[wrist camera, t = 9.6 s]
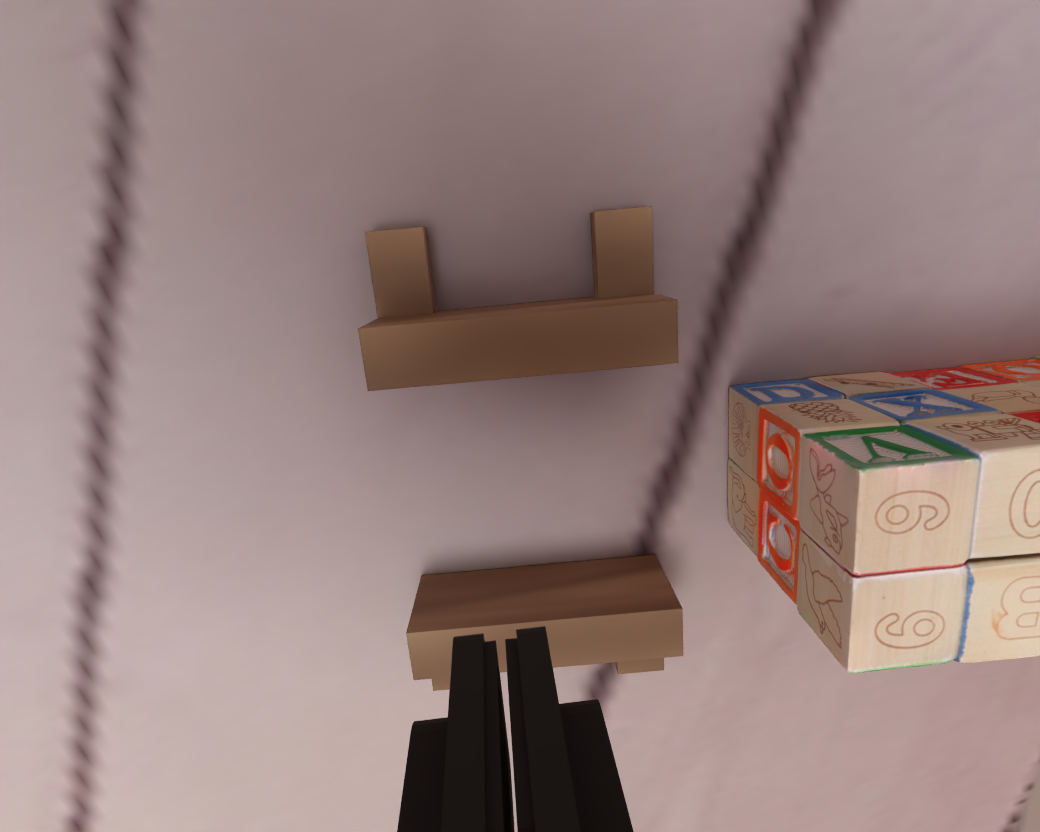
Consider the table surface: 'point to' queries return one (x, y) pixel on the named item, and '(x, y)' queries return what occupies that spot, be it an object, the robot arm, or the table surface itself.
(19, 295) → the table surface
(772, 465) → the stack of blocks
